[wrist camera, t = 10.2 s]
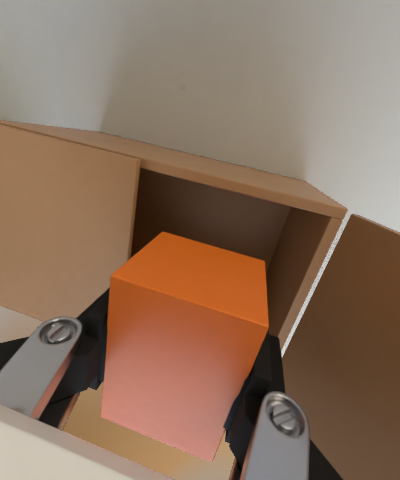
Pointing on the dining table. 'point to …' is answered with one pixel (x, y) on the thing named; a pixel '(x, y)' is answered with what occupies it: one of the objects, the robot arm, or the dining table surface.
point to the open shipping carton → (144, 218)
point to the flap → (353, 355)
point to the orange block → (182, 340)
